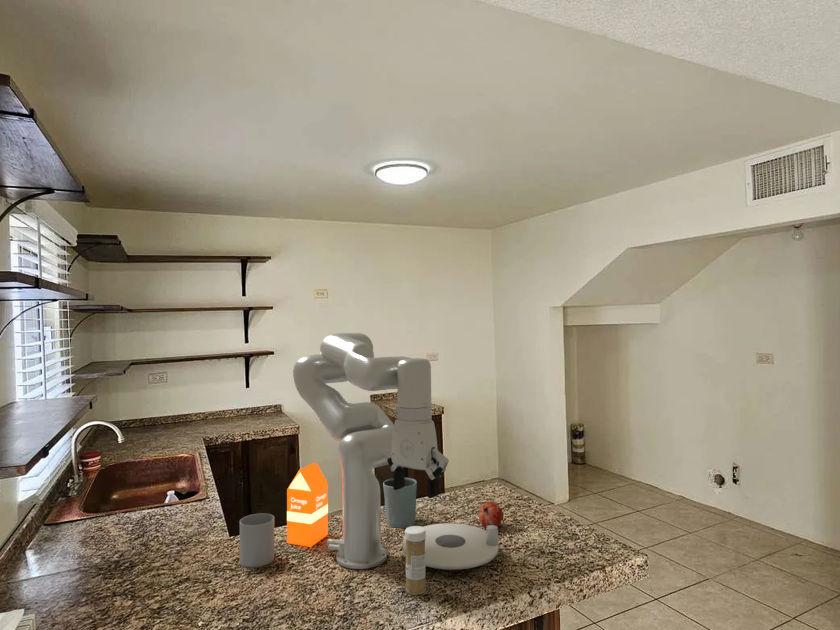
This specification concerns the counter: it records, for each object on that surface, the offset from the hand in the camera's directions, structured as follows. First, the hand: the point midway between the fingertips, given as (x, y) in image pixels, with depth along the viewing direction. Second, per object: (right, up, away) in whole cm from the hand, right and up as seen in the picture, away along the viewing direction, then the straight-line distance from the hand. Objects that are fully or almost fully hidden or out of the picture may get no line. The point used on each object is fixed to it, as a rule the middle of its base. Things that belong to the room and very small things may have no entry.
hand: (415, 492), depth 113 cm
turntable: (+9, -22, +16) cm, 29 cm away
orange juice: (-30, -23, +28) cm, 47 cm away
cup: (-40, -23, +16) cm, 49 cm away
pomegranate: (+22, -23, +36) cm, 48 cm away
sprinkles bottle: (0, -22, 0) cm, 22 cm away
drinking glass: (-5, -23, +40) cm, 46 cm away
